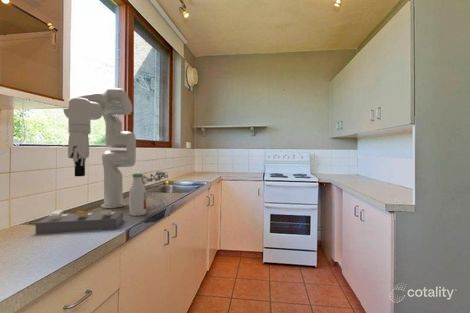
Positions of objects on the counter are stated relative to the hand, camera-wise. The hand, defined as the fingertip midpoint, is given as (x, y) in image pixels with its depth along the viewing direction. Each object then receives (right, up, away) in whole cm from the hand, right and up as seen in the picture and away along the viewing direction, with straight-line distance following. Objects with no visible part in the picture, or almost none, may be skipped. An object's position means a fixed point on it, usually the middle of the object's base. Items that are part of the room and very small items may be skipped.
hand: (79, 176), depth 104 cm
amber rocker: (0, -16, +2) cm, 16 cm away
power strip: (-1, -21, +4) cm, 21 cm away
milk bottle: (+14, -21, +25) cm, 35 cm away
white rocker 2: (+8, -16, +4) cm, 18 cm away
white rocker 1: (-9, -16, 0) cm, 18 cm away
